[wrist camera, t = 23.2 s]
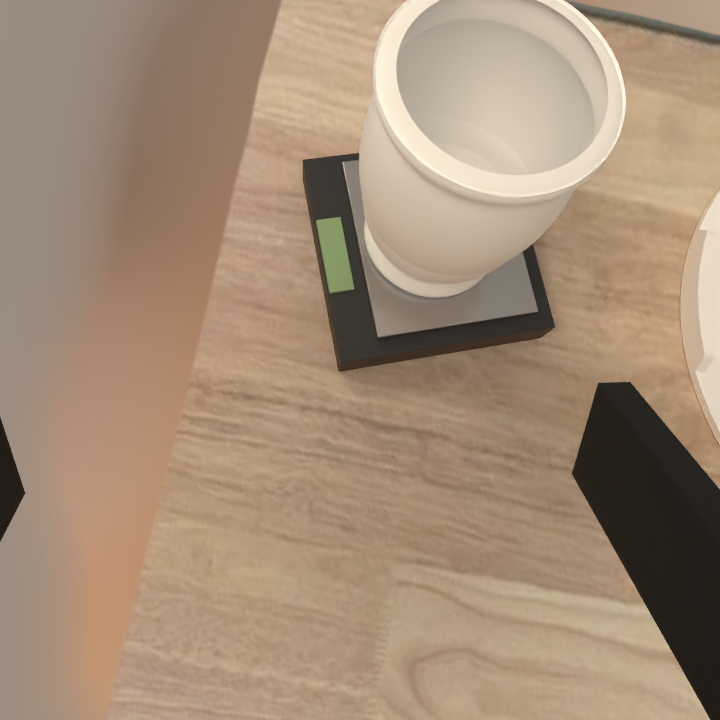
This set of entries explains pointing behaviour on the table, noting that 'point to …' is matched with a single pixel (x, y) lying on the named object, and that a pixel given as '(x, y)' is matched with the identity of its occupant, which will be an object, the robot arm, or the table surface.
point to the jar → (480, 134)
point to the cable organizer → (703, 312)
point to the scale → (350, 294)
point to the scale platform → (426, 314)
